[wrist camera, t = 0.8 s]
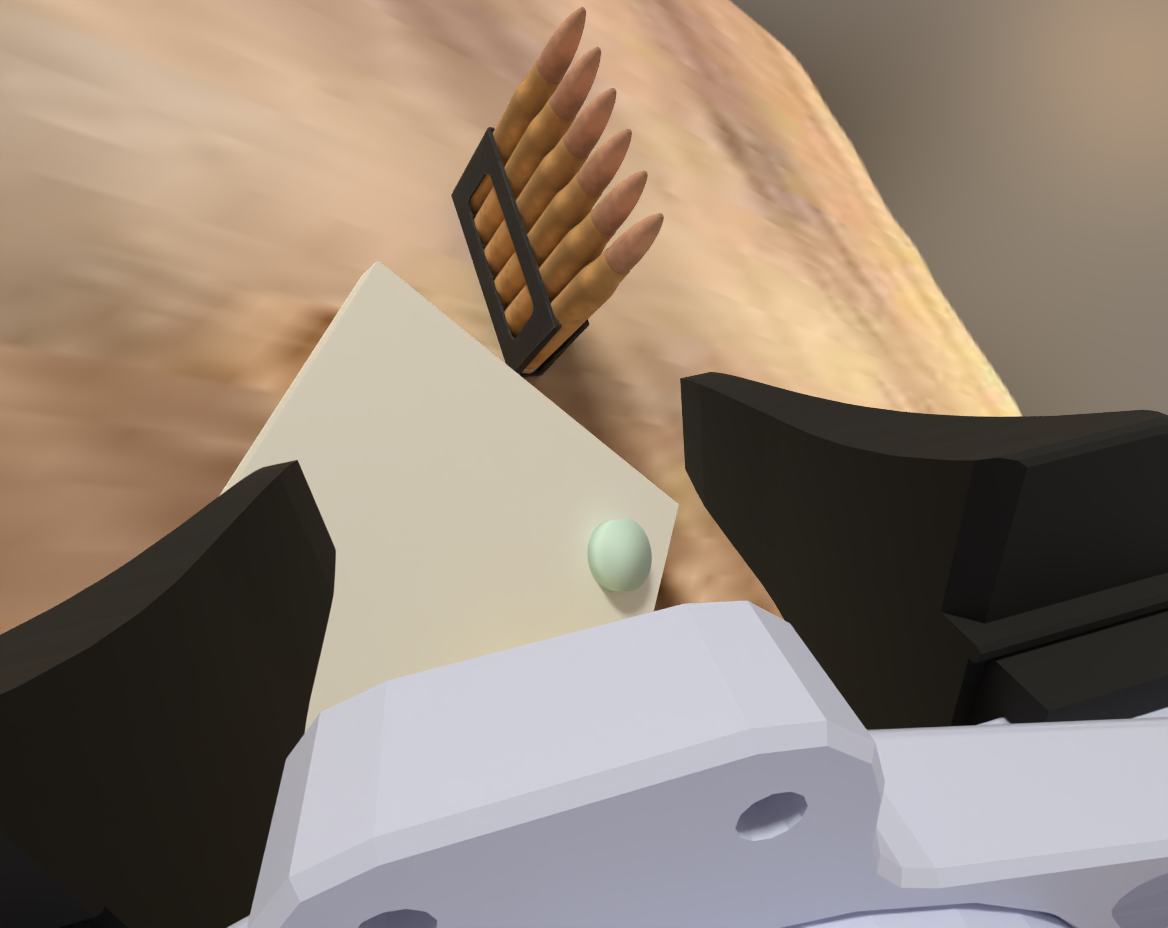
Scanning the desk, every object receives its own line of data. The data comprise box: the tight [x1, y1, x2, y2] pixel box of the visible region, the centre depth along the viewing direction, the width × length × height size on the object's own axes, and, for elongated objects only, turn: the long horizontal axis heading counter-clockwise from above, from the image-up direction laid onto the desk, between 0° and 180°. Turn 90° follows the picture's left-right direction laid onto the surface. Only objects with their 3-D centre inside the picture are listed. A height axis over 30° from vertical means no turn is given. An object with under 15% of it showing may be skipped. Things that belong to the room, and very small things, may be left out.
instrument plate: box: [219, 260, 679, 733], centre depth 18 cm, size 18×16×5 cm
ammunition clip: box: [452, 7, 664, 377], centre depth 27 cm, size 11×2×12 cm, turn 21°
